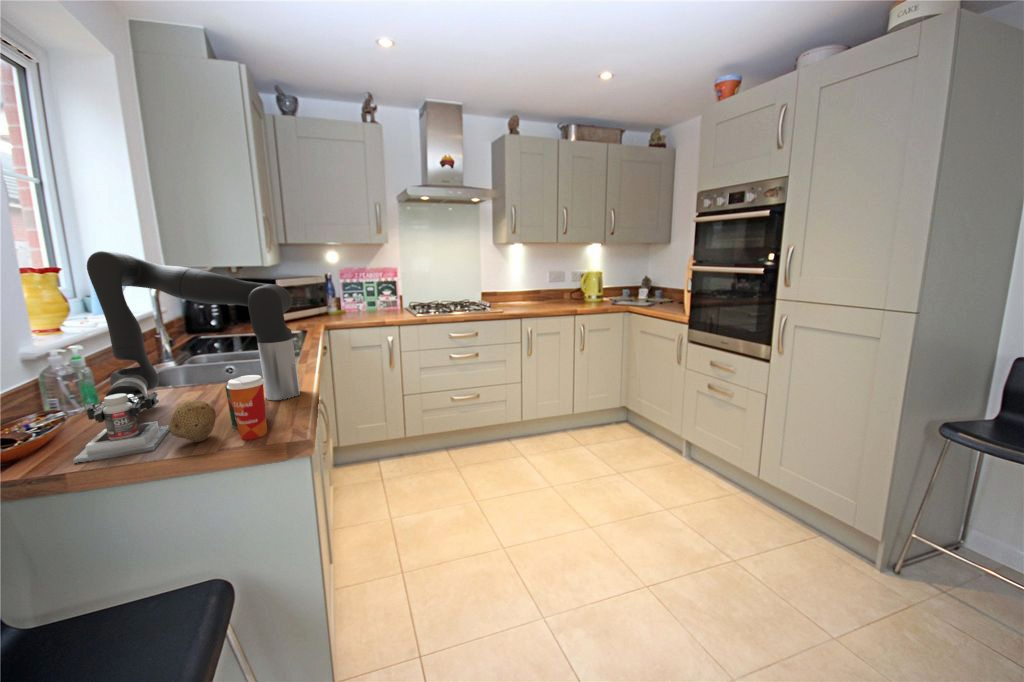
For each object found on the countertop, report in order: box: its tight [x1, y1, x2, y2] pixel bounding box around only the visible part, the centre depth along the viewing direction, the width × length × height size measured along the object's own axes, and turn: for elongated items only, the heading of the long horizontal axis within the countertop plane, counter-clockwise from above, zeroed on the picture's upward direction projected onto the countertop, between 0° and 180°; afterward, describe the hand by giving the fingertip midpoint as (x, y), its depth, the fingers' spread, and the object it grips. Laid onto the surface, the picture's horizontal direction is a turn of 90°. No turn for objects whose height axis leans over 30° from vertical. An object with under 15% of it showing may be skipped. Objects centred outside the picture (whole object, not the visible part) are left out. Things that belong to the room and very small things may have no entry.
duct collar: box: [72, 420, 170, 464], centre depth 107 cm, size 14×14×3 cm
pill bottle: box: [103, 394, 138, 440], centre depth 106 cm, size 5×5×10 cm
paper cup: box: [227, 374, 268, 441], centre depth 109 cm, size 8×8×14 cm
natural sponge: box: [168, 399, 217, 443], centre depth 106 cm, size 9×9×10 cm
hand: (117, 414), depth 103 cm, fingers closed on pill bottle, 5 cm apart
